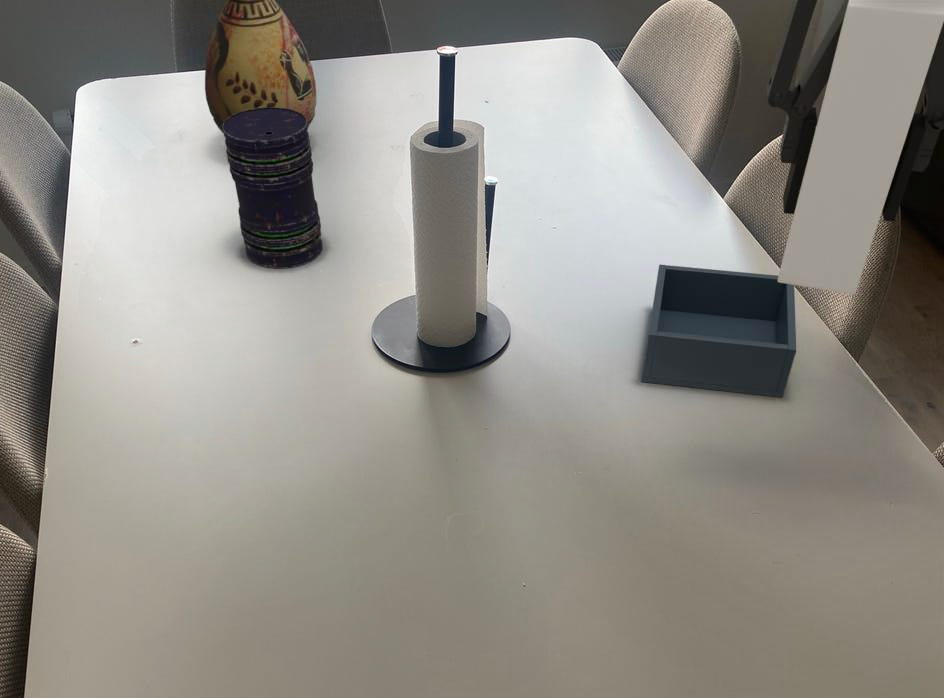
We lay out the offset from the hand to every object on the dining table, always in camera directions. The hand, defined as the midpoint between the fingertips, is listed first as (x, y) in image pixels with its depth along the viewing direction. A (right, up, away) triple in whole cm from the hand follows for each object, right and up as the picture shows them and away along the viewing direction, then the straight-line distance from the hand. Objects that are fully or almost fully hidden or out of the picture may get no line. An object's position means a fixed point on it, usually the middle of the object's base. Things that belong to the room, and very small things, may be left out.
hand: (837, 208), depth 72 cm
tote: (-1, -1, +32) cm, 32 cm away
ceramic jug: (-57, +40, +68) cm, 97 cm away
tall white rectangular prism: (0, -3, +4) cm, 5 cm away
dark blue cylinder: (-51, +17, +48) cm, 72 cm away
